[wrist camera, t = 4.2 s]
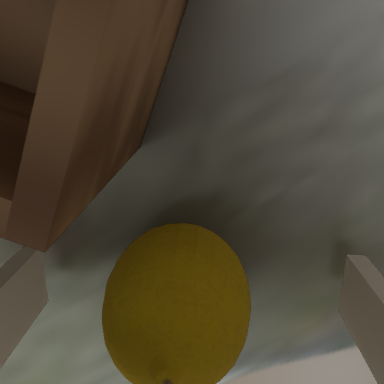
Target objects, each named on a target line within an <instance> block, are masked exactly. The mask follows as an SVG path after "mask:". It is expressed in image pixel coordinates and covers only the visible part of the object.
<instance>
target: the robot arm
mask: <svg viewBox="0 0 384 384" xmlns="http://www.w3.org/2000/svg"><path fill="white" fill-rule="evenodd" d="M47 302H48V294H47V286H46V279H45V272H44V264H43V257H42V251H39V250H36V249H33V248H30V247H27V246H24V247H22V248H21V249H20V250H19V251H18V252H17V253H16V254H15V255H14V256H13V257H12V258H11V259H10V260H8V261H7V262H6V263H5V264H4V265H3V266H2V267H1V268H0V368H1V367H2V365H3V364H4V363H5V361H6V360H7V358H8V357H9V356H10V354H11V353H12V351H13V350H14V349H15V347H16V346H17V344H18V343H19V342H20V340H21V339H22V337H23V336H24V335H25V333H26V332H27V330H28V329H29V327H30V326H31V325H32V323H33V322H34V320H35V319H36V318H37V316H38V315H39V313H40V312H41V311H42V309H43V308H44V306H45V305H46V304H47ZM338 311H339V313H340V314H341V316H342V318H343V320H344V322H345V324H346V326H347V327H348V329H349V331H350V333H351V335H352V337H353V339H354V340H355V342H356V344H357V346H358V348H359V350H360V352H361V353H362V355H363V357H364V359H365V361H366V363H367V365H368V366H369V368H370V370H371V372H372V374H373V375H374V378H375V380H376V381H377V383H378V384H384V277H383V275H382V274H381V273H380V272H379V271H378V270H377V268H376V267H375V266H374V265H373V264H372V262H371V261H370V260H369V259H368V258H367V257H366V255H347V257H346V264H345V270H344V277H343V283H342V290H341V297H340V303H339V310H338Z"/></svg>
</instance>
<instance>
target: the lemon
mask: <svg viewBox="0 0 384 384" xmlns="http://www.w3.org/2000/svg"><path fill="white" fill-rule="evenodd" d="M250 312H251V301H250V293H249V285H248V280H247V277H246V274H245V272H244V269H243V267H242V265H241V262H240V260H239V258H238V256H237V255H236V254H235V252H234V251H233V250H232V249H231V248H230V246H229V245H228V244H227V243H226V242H225V240H223V239H222V238H220V237H219V236H218V235H216V234H215V233H214V232H212V231H210V230H208V229H205V228H203V227H201V226H198V225H194V224H187V223H173V224H165V225H162V226H159V227H156V228H153V229H151V230H149V231H148V232H146V233H144V234H143V235H141V236H140V237H138V238H137V239H135V240H134V241H133V242H132V243H131V244H130V246H129V247H128V248H127V249H126V250H125V251H124V252H123V253H122V255H121V256H120V257H119V259H118V261H117V263H116V265H115V267H114V269H113V271H112V273H111V275H110V277H109V279H108V282H107V286H106V291H105V297H104V303H103V309H102V325H103V332H104V339H105V344H106V347H107V349H108V351H109V354H110V356H111V358H112V360H113V362H114V364H115V366H116V367H117V368H118V369H119V371H120V372H121V373H122V374H123V376H124V377H125V378H126V379H128V380H129V381H130V382H131V383H133V384H216V383H217V382H219V381H220V380H221V379H222V378H223V377H224V376H225V375H226V374H227V373H228V372H229V370H230V369H231V368H232V367H233V366H234V364H235V362H236V360H237V358H238V356H239V354H240V352H241V350H242V348H243V346H244V344H245V341H246V337H247V332H248V326H249V320H250Z"/></svg>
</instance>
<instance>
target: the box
mask: <svg viewBox="0 0 384 384" xmlns="http://www.w3.org/2000/svg"><path fill="white" fill-rule="evenodd" d="M187 2H188V0H0V237H1V238H4V239H7V240H10V241H13V242H15V243H18V244H21V245H24V246H27V247H30V248H33V249H36V250H39V251H42V252H46V251H47V249H48V248H49V247H50V246H51V245H52V244H53V243H54V242H55V241H56V239H57V238H58V237H59V236H60V235H61V234H62V233H63V232H64V231H65V230H66V228H67V227H68V226H69V225H70V224H71V223H72V222H73V221H74V220H75V219H76V217H77V216H78V215H79V214H80V213H81V212H82V211H83V210H84V209H85V208H86V206H87V205H88V204H89V203H90V202H91V201H92V200H93V199H94V198H95V197H96V195H97V194H98V193H99V192H100V191H101V190H102V189H103V188H104V187H105V185H106V184H107V183H108V182H109V181H110V180H111V179H112V178H113V177H114V176H115V174H116V173H117V172H118V171H119V170H120V169H121V168H122V167H123V166H124V165H125V163H126V162H127V161H128V160H129V159H130V158H131V157H132V156H133V155H134V154H135V152H136V151H137V150H138V149H139V148H140V146H141V143H142V140H143V137H144V133H145V130H146V127H147V124H148V121H149V118H150V115H151V112H152V109H153V106H154V103H155V100H156V97H157V94H158V91H159V88H160V85H161V82H162V78H163V75H164V72H165V69H166V66H167V63H168V60H169V57H170V54H171V51H172V48H173V45H174V42H175V39H176V36H177V33H178V30H179V26H180V23H181V20H182V17H183V14H184V11H185V8H186V5H187Z"/></svg>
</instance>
